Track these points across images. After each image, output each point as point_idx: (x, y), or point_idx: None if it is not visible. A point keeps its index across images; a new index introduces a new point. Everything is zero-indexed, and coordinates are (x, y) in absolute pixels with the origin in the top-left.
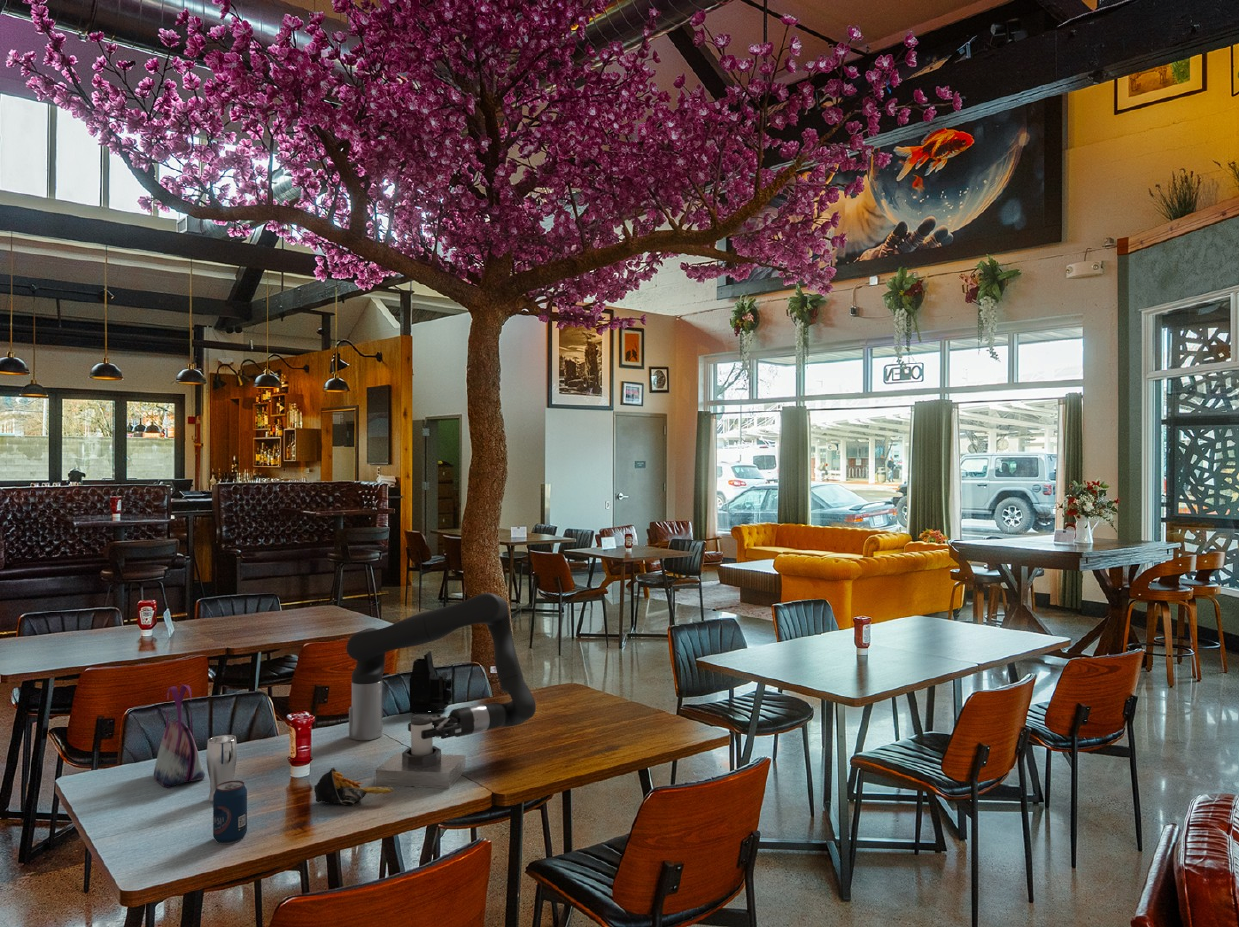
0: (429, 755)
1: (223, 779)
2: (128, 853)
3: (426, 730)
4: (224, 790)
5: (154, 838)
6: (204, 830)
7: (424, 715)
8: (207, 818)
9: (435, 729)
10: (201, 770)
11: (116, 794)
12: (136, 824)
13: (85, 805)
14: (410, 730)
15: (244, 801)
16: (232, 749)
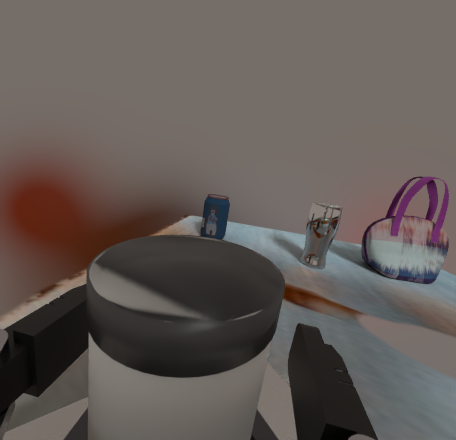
0: (70, 437)
1: (305, 239)
2: (239, 226)
3: (85, 285)
4: (211, 194)
5: (252, 232)
6: (242, 239)
7: (223, 295)
8: (266, 246)
9: (16, 355)
10: (376, 260)
11: (359, 251)
12: (284, 237)
13: (340, 242)
14: (289, 365)
15: (205, 208)
16: (314, 213)
